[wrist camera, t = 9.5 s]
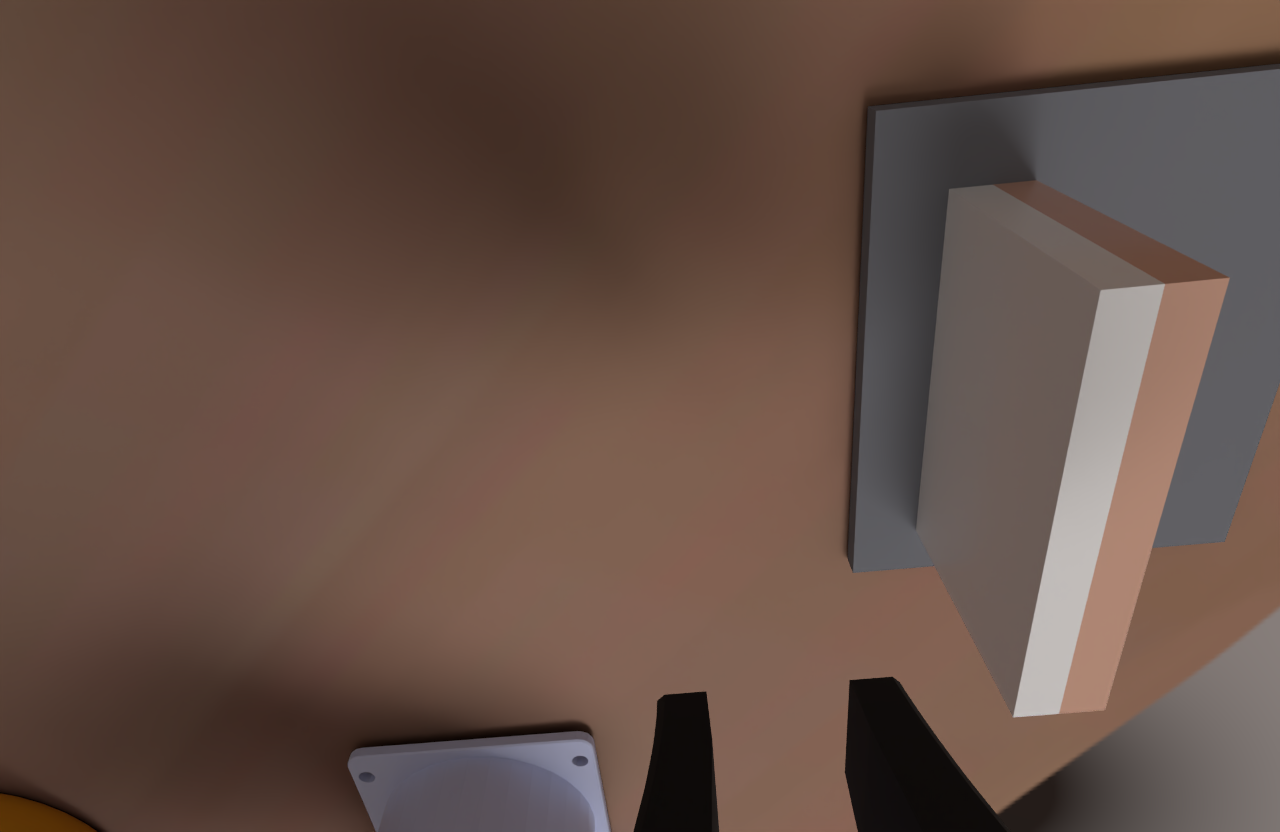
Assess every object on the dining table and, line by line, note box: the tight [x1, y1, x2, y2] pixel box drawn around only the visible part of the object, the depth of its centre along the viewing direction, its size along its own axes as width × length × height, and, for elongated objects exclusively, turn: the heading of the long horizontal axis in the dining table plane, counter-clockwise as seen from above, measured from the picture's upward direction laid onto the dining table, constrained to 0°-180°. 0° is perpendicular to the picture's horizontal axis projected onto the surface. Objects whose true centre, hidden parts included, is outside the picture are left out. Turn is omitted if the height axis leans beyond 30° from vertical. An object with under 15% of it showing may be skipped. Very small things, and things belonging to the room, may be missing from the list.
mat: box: [848, 64, 1280, 573], centre depth 19 cm, size 12×10×1 cm
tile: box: [916, 180, 1230, 717], centre depth 16 cm, size 9×2×6 cm, turn 5°
